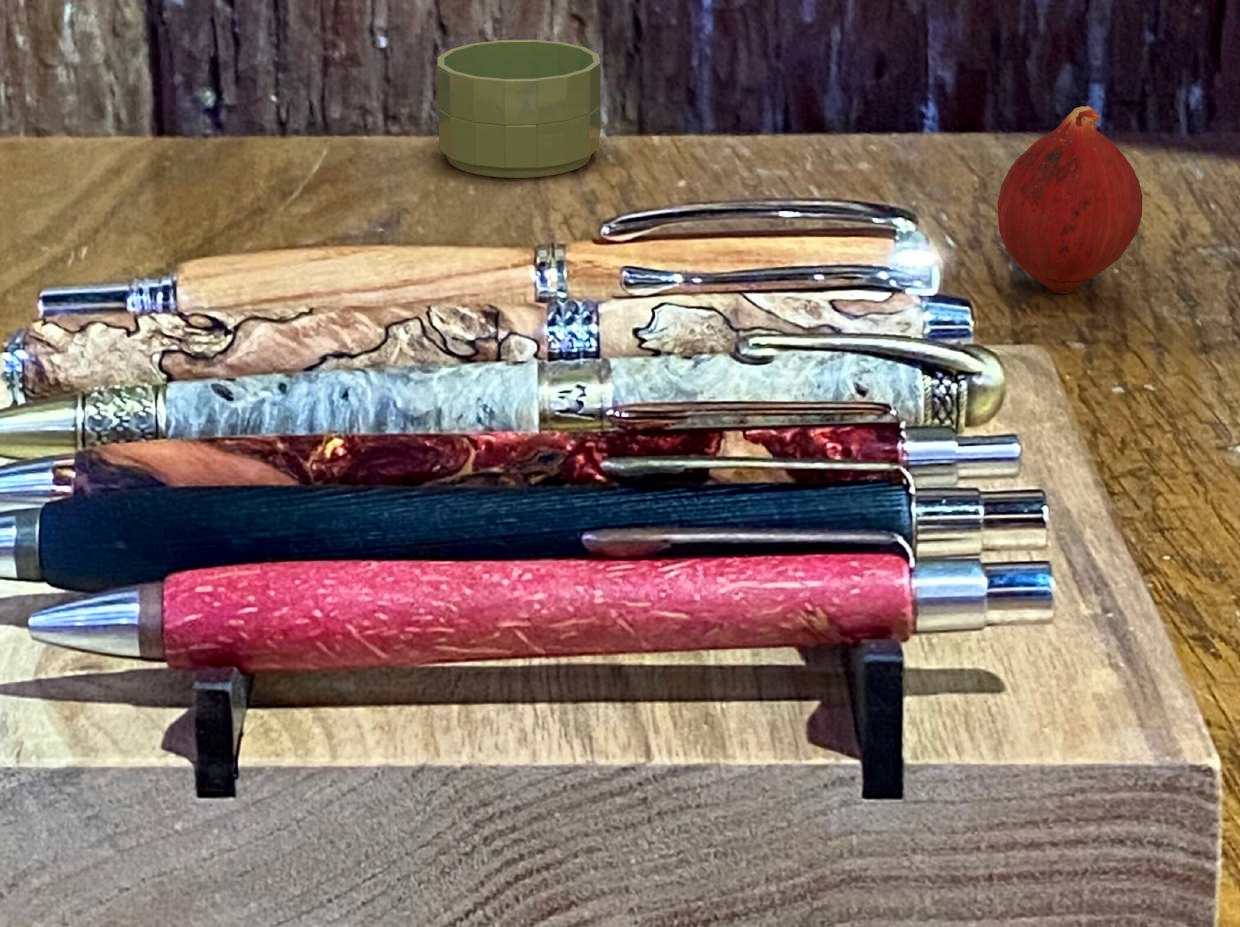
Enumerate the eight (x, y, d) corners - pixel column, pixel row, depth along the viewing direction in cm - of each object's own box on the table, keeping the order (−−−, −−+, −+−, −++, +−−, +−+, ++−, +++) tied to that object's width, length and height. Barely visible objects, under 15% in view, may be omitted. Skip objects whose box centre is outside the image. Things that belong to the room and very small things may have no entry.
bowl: (594, 133, 119) (595, 38, 116) (603, 179, 112) (604, 79, 109) (440, 136, 119) (438, 41, 117) (439, 182, 112) (436, 82, 109)
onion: (1072, 327, 93) (1094, 135, 89) (961, 291, 97) (978, 106, 93) (1157, 294, 96) (1181, 109, 92) (1046, 261, 100) (1066, 82, 96)
